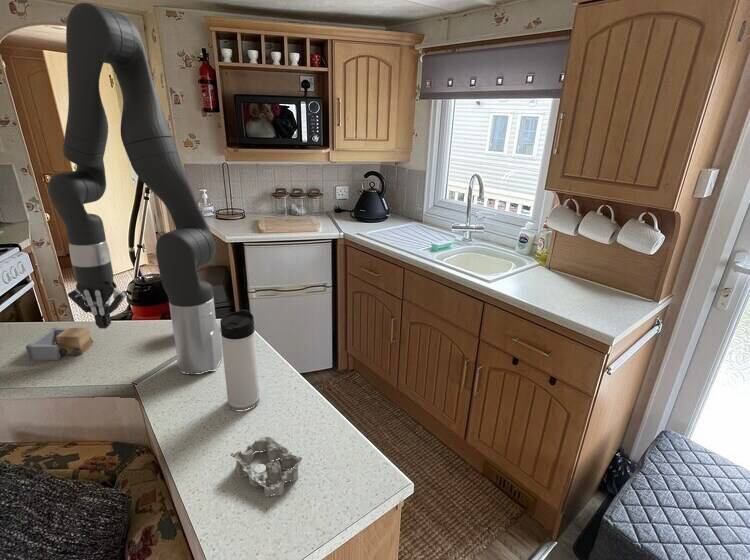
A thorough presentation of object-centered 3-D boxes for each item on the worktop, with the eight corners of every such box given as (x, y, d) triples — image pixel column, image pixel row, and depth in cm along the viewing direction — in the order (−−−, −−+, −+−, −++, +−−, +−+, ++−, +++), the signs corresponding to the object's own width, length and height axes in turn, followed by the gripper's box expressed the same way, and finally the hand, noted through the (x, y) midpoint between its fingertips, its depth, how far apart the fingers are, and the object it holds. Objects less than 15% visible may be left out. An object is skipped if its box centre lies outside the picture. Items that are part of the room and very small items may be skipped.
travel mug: (265, 395, 90) (260, 311, 83) (249, 415, 84) (242, 326, 77) (240, 390, 91) (232, 307, 84) (221, 408, 85) (212, 320, 78)
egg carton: (229, 472, 71) (227, 453, 69) (264, 446, 76) (263, 428, 75) (271, 505, 65) (269, 485, 63) (306, 475, 71) (305, 456, 69)
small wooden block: (94, 344, 107) (90, 327, 105) (80, 356, 101) (76, 338, 100) (73, 344, 106) (69, 326, 105) (59, 355, 101) (54, 337, 99)
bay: (82, 340, 108) (79, 328, 107) (57, 359, 99) (54, 346, 98) (56, 339, 108) (53, 327, 107) (29, 359, 99) (25, 346, 98)
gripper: (129, 256, 100) (139, 321, 106) (72, 253, 99) (85, 319, 105) (112, 267, 93) (124, 335, 99) (50, 264, 92) (66, 333, 98)
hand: (104, 327), depth 102 cm, fingers closed
